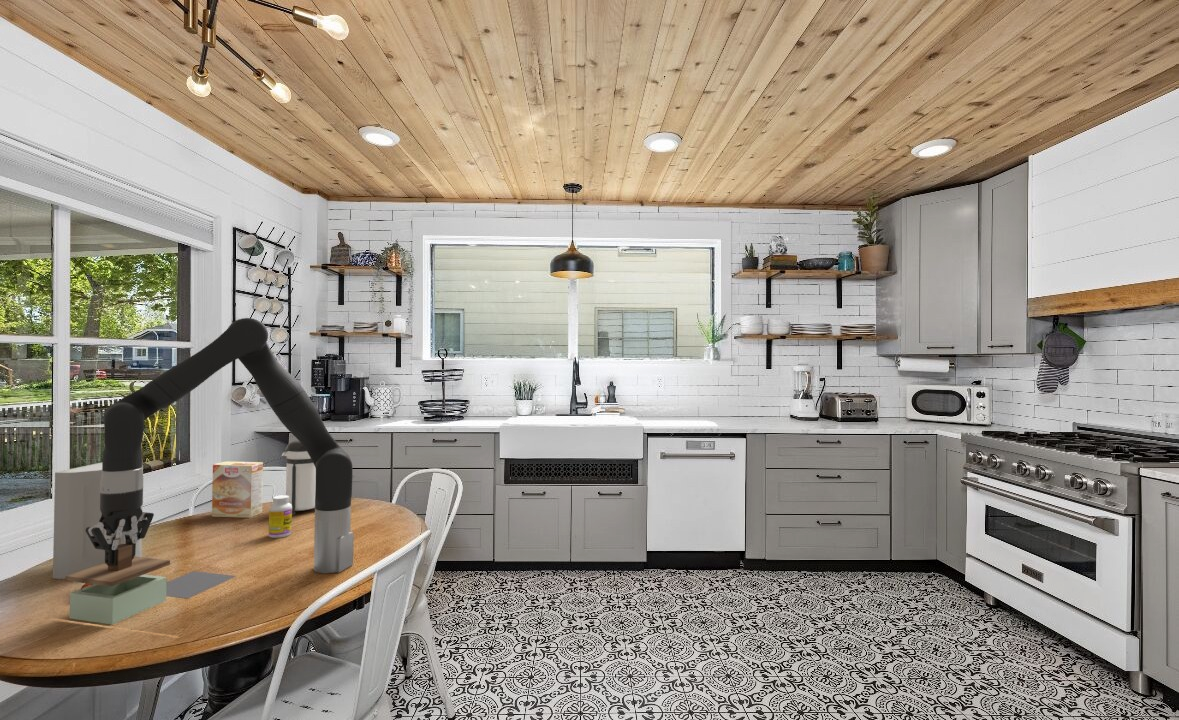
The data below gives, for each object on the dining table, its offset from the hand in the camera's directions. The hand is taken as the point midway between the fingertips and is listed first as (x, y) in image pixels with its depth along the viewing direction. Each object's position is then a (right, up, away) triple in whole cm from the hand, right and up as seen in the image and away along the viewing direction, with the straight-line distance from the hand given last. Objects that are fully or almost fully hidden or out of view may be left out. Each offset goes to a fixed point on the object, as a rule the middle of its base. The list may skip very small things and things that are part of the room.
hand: (120, 562), depth 123 cm
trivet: (+6, -11, +14) cm, 19 cm away
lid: (0, -2, 0) cm, 2 cm away
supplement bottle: (+6, -12, +54) cm, 55 cm away
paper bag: (-26, -11, +27) cm, 39 cm away
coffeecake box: (-23, -11, +76) cm, 80 cm away
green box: (0, -11, 0) cm, 11 cm away
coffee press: (-1, -12, +84) cm, 85 cm away
